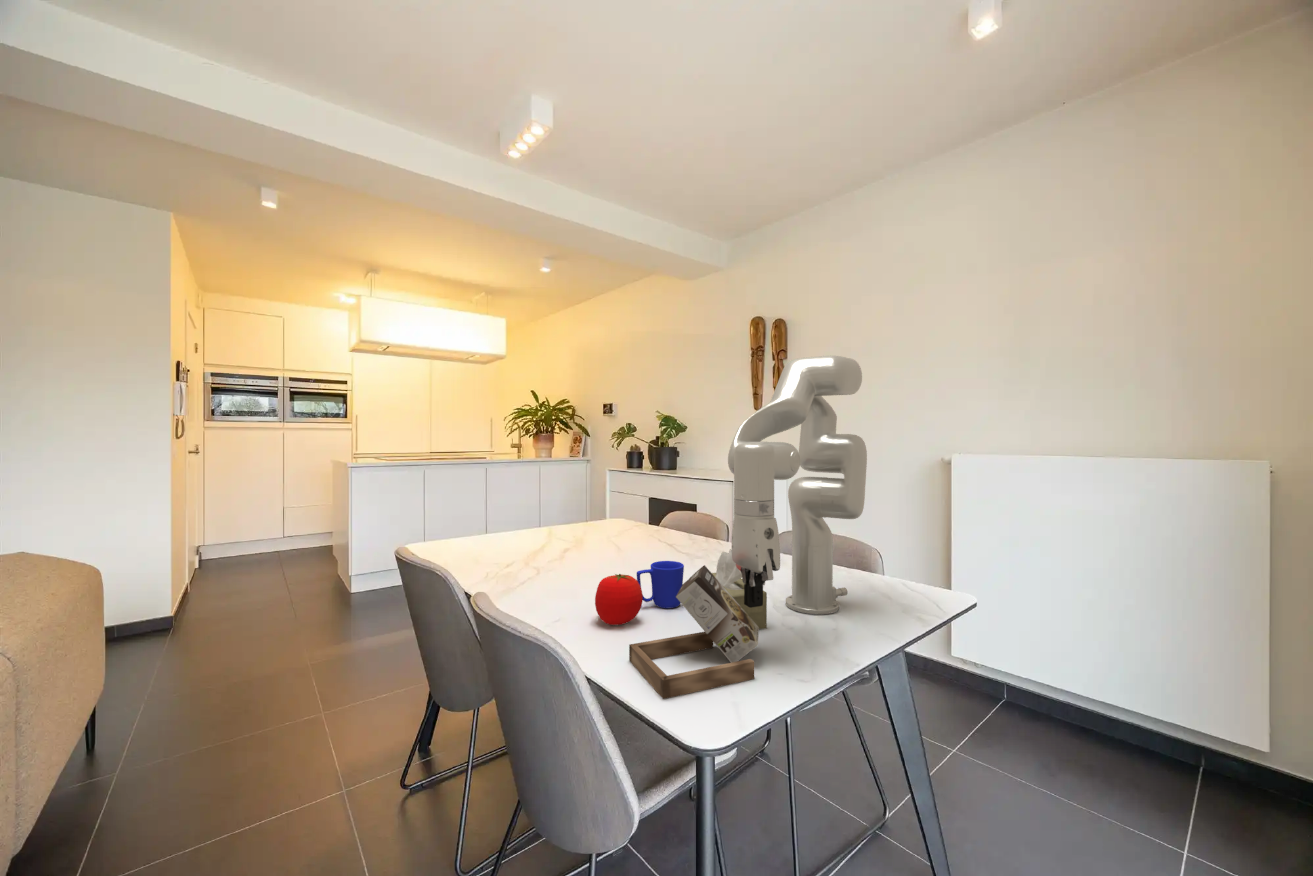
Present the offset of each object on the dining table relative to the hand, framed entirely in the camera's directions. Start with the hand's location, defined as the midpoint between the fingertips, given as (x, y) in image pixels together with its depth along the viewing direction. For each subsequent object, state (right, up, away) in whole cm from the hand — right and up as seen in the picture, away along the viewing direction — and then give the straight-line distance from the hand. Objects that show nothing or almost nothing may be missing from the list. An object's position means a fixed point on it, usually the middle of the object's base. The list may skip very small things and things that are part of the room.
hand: (753, 605), depth 99 cm
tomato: (-27, -10, +18) cm, 34 cm away
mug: (-17, -10, +29) cm, 35 cm away
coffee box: (-1, -8, 0) cm, 8 cm away
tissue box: (-2, -10, +22) cm, 24 cm away
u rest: (-12, -10, -5) cm, 17 cm away
